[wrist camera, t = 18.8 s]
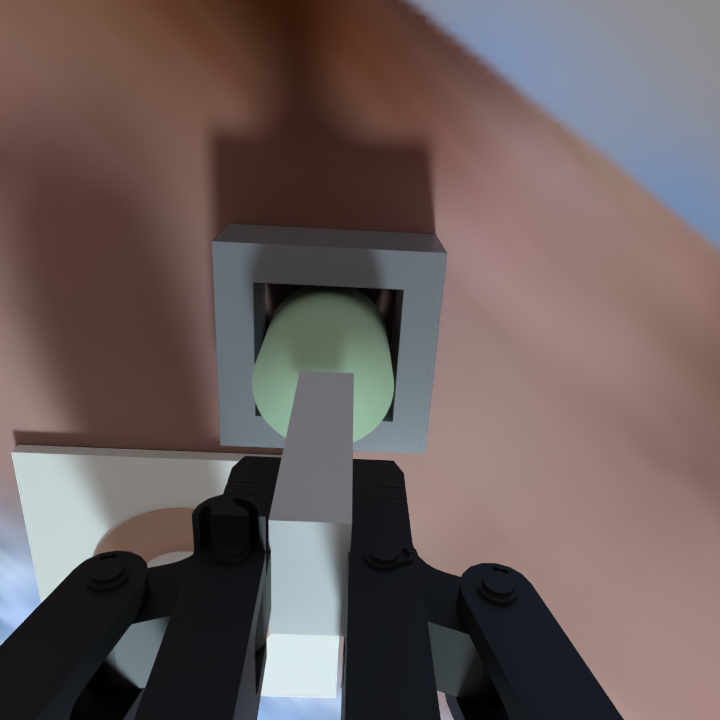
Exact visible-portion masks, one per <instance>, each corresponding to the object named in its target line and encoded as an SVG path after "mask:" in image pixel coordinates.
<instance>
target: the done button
mask: <svg viewBox="0 0 720 720" xmlns="http://www.w3.org/2000/svg"><path fill="white" fill-rule="evenodd" d="M300 371H318V372H340V373H354V399H353V442H356V441H357V440H359V439H361V438H363V437H365V436H366V435H368V434H369V433H370V432H372V431H373V430H374V429H375V428H376V427H377V426H378V425H379V424H380V422H381V421H382V420H383V418H384V417H385V415H386V414H387V412H388V410H389V408H390V405H391V402H392V399H393V393H394V378H393V370H392V363H391V356H390V349H389V342H388V335H387V329H386V325H385V321H384V319H383V317H382V314H381V313H380V311H379V309H378V308H377V306H376V305H375V304H374V303H373V302H372V301H371V300H370V299H369V298H368V297H367V296H366V295H364V294H363V293H362V292H360V291H358V290H356V289H354V288H352V287H337V286H317V285H307V286H304V287H302V288H300V289H298V290H296V291H294V292H293V293H291V294H290V295H289V296H287V297H286V298H285V299H284V300H283V301H282V302H281V303H280V305H279V306H278V308H277V309H276V311H275V313H274V315H273V317H272V319H271V322H270V325H269V328H268V330H267V333H266V336H265V338H264V341H263V344H262V347H261V349H260V352H259V355H258V358H257V360H256V363H255V366H254V370H253V375H252V390H253V396H254V400H255V403H256V405H257V408H258V410H259V411H260V413H261V415H262V416H263V418H264V419H265V420H266V422H267V423H268V424H269V425H270V426H271V427H272V428H273V429H274V430H275V431H277V432H278V433H279V434H280V435H282V436H284V437H285V438H286V435H287V430H288V425H289V420H290V416H291V411H292V406H293V401H294V397H295V392H296V387H297V382H298V378H299V373H300Z"/></svg>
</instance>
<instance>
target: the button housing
mask: <svg viewBox="0 0 720 720" xmlns="http://www.w3.org/2000/svg"><path fill="white" fill-rule="evenodd" d="M446 258H447V252H446V250H445V249H444V247H443V245H442V244H441V242H440V240H439V239H438V237H437V235H436V234H424V233H404V232H384V231H365V230H345V229H325V228H306V227H286V226H267V225H247V224H228V225H227V226H226V227H225V228H224V229H223V230H222V231H221V232H220V233H219V234H218V235H217V236H216V237H215V239H214V240H213V241H212V259H213V282H214V306H215V329H216V353H217V376H218V400H219V424H220V446H243V447H268V448H284V444H285V439H286V438H285V437H284V436H282V435H280V434H279V433H278V432H277V431H275V430H274V429H273V428H272V427H271V426H270V425H269V424H268V423H267V422H266V420H265V419H264V418H263V416H262V415H261V413H260V411H259V410H258V408H257V405H256V403H255V400H254V396H253V390H252V375H253V370H254V366H255V363H256V360H257V358H258V355H259V352H260V349H261V347H262V344H263V341H264V338H265V336H266V315H265V283H275V284H296V285H317V286H337V287H358V288H379V289H396V298H395V310H394V323H393V336H392V349H391V363H392V370H393V378H394V393H393V399H392V402H391V405H390V408H389V410H388V412H387V414H386V415H385V417H384V418H383V420H382V421H381V422H380V424H379V425H378V426H377V427H376V428H375V429H374V430H373V431H372V432H370V433H369V434H368V435H366V436H365V437H363V438H361V439H359V440H357V441H356V442H353V451H367V452H392V453H417V454H425V449H426V440H427V431H428V422H429V413H430V404H431V395H432V386H433V377H434V367H435V358H436V349H437V340H438V331H439V322H440V313H441V304H442V295H443V286H444V276H445V267H446Z"/></svg>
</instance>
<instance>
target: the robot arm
mask: <svg viewBox="0 0 720 720" xmlns="http://www.w3.org/2000/svg"><path fill="white" fill-rule="evenodd" d="M353 399H354V373H340V372H318V371H300V373H299V378H298V382H297V387H296V392H295V397H294V401H293V406H292V411H291V416H290V420H289V425H288V430H287V435H286V439H285V444H284V449H283V454H282V457H260V456H244V457H243V458H242V459H241V460H240V461H239V462H238V463H236V464H235V465H234V466H233V467H232V469H231V472H230V475H229V478H228V481H227V484H226V487H225V490H224V492H223V494H221V495H218V496H215V497H212V498H209V499H207V500H205V501H204V502H202V503H201V504H199V505H198V506H197V507H196V508H195V510H194V511H193V513H192V527H193V542H194V552H193V554H192V555H191V556H189V557H187V558H185V559H183V560H180V561H177V562H174V563H170V564H165V565H160V566H155V567H150V568H148V567H147V563H146V562H145V560H144V559H143V558H142V557H141V556H140V555H137V554H135V553H132V552H130V551H110V552H105V553H100V554H98V555H96V556H93V557H91V558H89V559H86V560H85V561H84V562H82V563H81V564H80V565H78V566H77V567H76V568H75V569H74V570H73V571H72V572H71V573H70V574H69V575H68V576H67V577H66V578H65V579H64V580H63V581H62V582H61V583H60V584H59V585H58V586H57V587H56V588H55V589H54V590H53V592H52V593H51V594H50V595H49V596H48V597H47V598H46V599H45V600H44V601H43V602H42V603H41V604H40V605H39V606H38V607H37V608H36V609H35V610H34V611H33V612H32V613H31V614H30V615H29V617H28V618H27V619H26V620H25V621H24V622H23V623H22V624H21V625H20V626H19V627H18V628H17V629H16V630H15V631H14V632H13V633H12V634H11V635H10V636H9V637H8V638H7V639H6V640H5V642H4V643H3V644H2V645H1V646H0V720H257V716H258V709H259V703H260V697H261V690H262V684H263V678H264V671H265V665H266V659H267V632H268V626H269V634H297V635H325V636H344V647H343V664H342V682H341V688H342V703H341V720H441V718H440V711H439V703H438V696H437V690H438V691H441V692H444V693H445V697H446V702H447V704H448V706H449V709H450V711H451V714H452V716H453V719H454V720H624V719H623V718H622V716H621V715H620V714H619V712H618V711H617V709H616V708H615V706H614V705H613V703H612V702H611V700H610V699H609V697H608V696H607V694H606V693H605V691H604V690H603V689H602V687H601V686H600V684H599V683H598V681H597V680H596V678H595V677H594V675H593V674H592V672H591V671H590V669H589V668H588V666H587V665H586V664H585V662H584V661H583V659H582V658H581V656H580V655H579V653H578V652H577V650H576V649H575V647H574V646H573V644H572V643H571V641H570V640H569V638H568V637H567V636H566V634H565V633H564V631H563V630H562V628H561V627H560V625H559V624H558V622H557V621H556V619H555V618H554V616H553V615H552V613H551V612H550V611H549V609H548V608H547V606H546V605H545V603H544V602H543V600H542V599H541V597H540V596H539V594H538V593H537V591H536V590H535V588H534V587H533V586H532V584H531V583H530V582H529V581H528V580H527V579H526V578H525V577H524V576H523V575H522V574H521V573H519V572H517V571H515V570H514V569H512V568H510V567H507V566H503V565H500V564H496V563H481V564H478V565H475V566H472V567H470V568H469V569H467V570H466V571H465V572H464V573H463V574H462V577H459V576H455V575H452V574H448V573H445V572H442V571H440V570H437V569H435V568H433V567H431V566H430V565H428V564H426V563H425V562H424V561H423V560H422V559H421V558H420V557H419V556H418V554H417V551H416V549H415V548H414V547H413V544H412V537H411V529H410V521H409V513H408V504H407V496H406V490H405V480H404V473H403V472H402V471H401V469H400V468H399V467H398V466H397V465H396V463H395V462H394V461H388V460H365V459H353Z"/></svg>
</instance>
